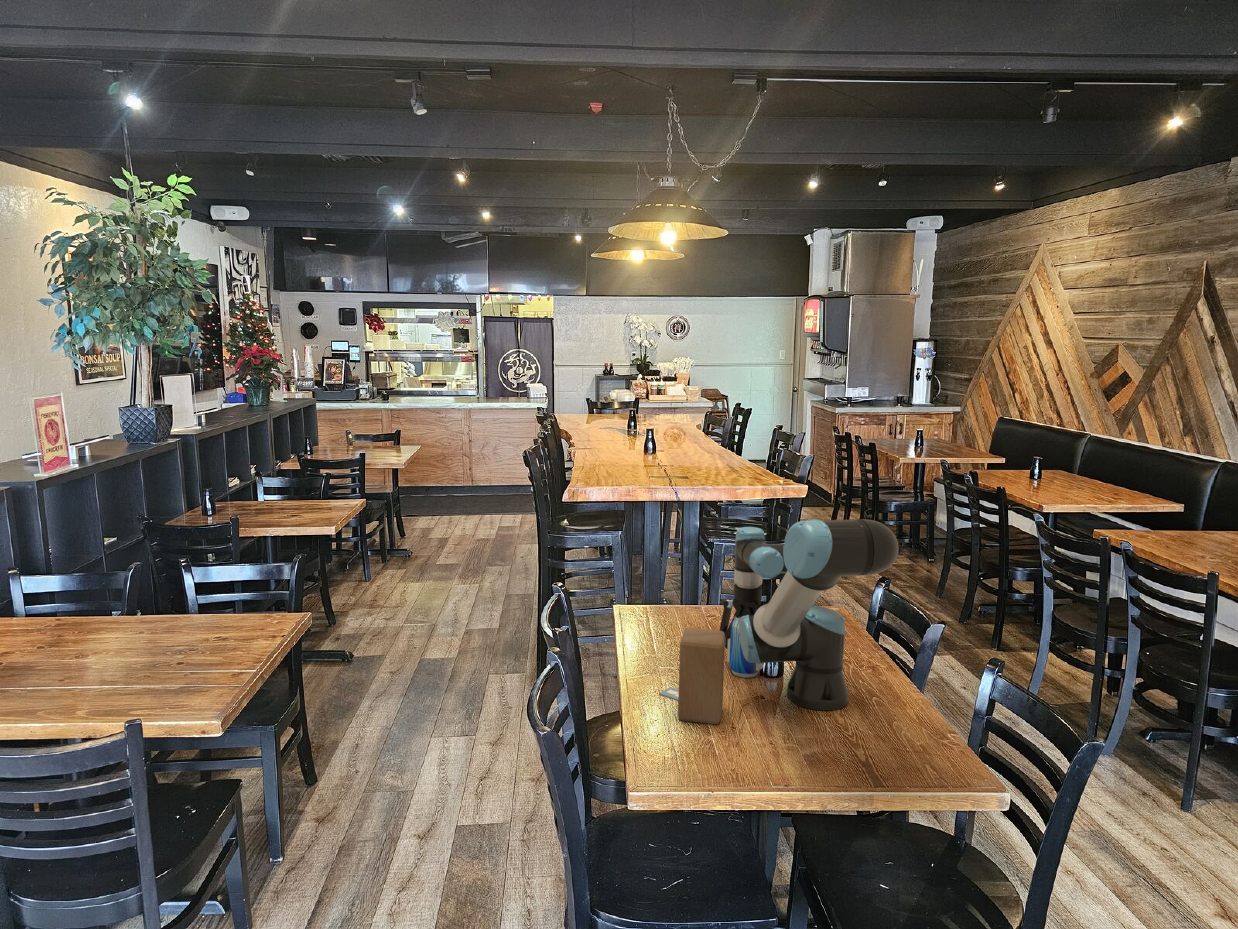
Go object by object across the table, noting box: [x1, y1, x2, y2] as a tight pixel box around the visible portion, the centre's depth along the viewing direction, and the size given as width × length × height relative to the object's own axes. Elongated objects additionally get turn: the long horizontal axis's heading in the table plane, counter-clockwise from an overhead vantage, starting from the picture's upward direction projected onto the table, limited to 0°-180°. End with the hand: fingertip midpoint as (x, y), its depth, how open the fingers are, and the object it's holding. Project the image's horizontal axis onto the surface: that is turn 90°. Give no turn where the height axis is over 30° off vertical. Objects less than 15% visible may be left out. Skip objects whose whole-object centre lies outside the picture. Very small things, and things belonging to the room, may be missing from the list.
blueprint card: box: [658, 686, 679, 702], centre depth 197 cm, size 8×5×1 cm, turn 52°
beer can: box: [729, 616, 761, 679], centre depth 211 cm, size 8×8×16 cm
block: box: [677, 627, 726, 725], centre depth 186 cm, size 10×10×20 cm
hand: (744, 664), depth 212 cm, fingers closed on beer can, 8 cm apart
